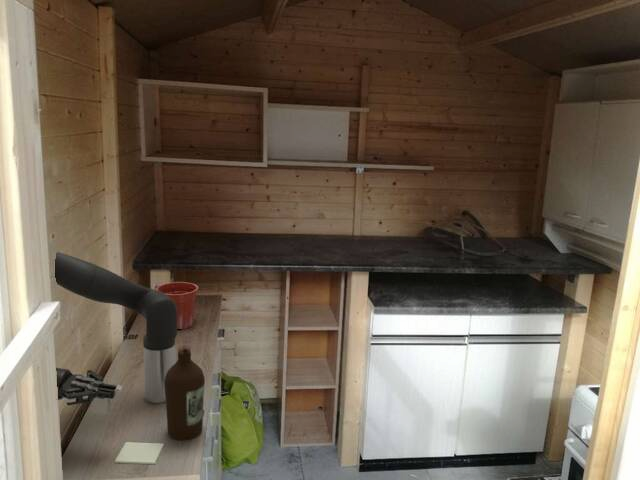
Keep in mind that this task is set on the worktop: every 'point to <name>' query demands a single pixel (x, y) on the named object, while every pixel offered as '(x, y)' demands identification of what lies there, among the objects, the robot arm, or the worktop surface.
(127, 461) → the mat
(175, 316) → the robot arm
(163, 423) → the worktop surface
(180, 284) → the flower pot
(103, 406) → the lighter
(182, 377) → the olive oil
